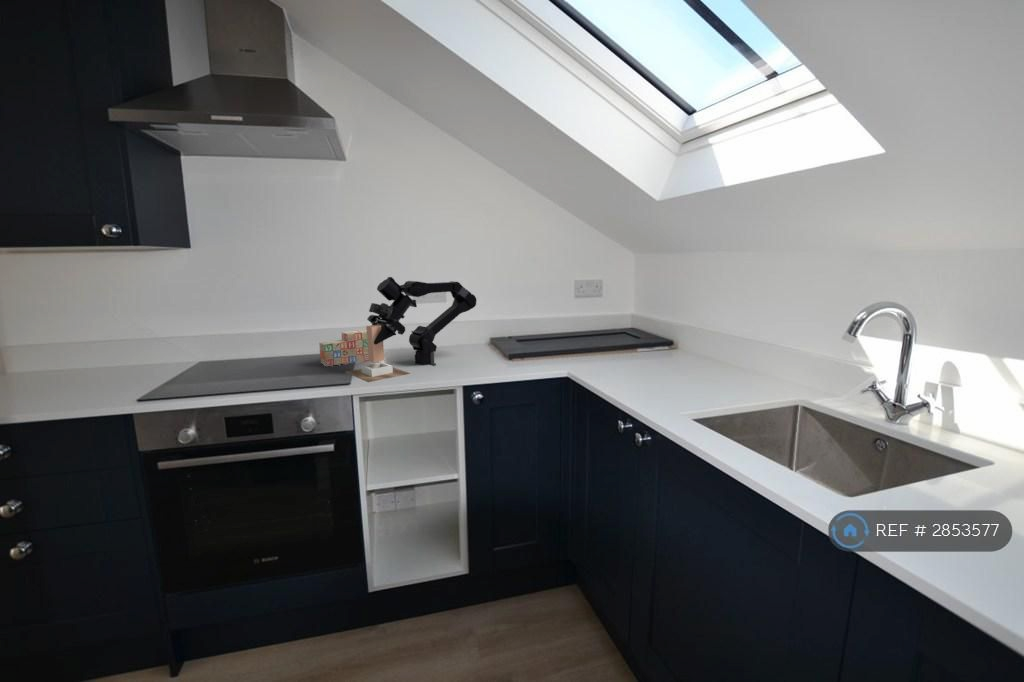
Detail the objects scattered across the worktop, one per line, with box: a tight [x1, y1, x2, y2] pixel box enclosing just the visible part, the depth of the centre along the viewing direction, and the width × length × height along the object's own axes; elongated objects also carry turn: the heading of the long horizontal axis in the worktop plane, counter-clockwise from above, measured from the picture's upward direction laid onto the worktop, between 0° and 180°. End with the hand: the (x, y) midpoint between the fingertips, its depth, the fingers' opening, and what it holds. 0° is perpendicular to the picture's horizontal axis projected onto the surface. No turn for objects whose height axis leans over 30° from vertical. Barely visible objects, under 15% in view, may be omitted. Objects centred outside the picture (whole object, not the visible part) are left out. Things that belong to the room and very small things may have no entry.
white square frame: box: [361, 361, 393, 377], centre depth 170 cm, size 8×8×2 cm
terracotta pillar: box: [365, 324, 385, 363], centre depth 168 cm, size 4×4×12 cm
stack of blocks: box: [318, 329, 370, 365], centre depth 191 cm, size 21×6×12 cm, turn 129°
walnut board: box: [345, 366, 411, 383], centre depth 170 cm, size 16×19×1 cm
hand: (371, 343), depth 167 cm, fingers closed on terracotta pillar, 4 cm apart
